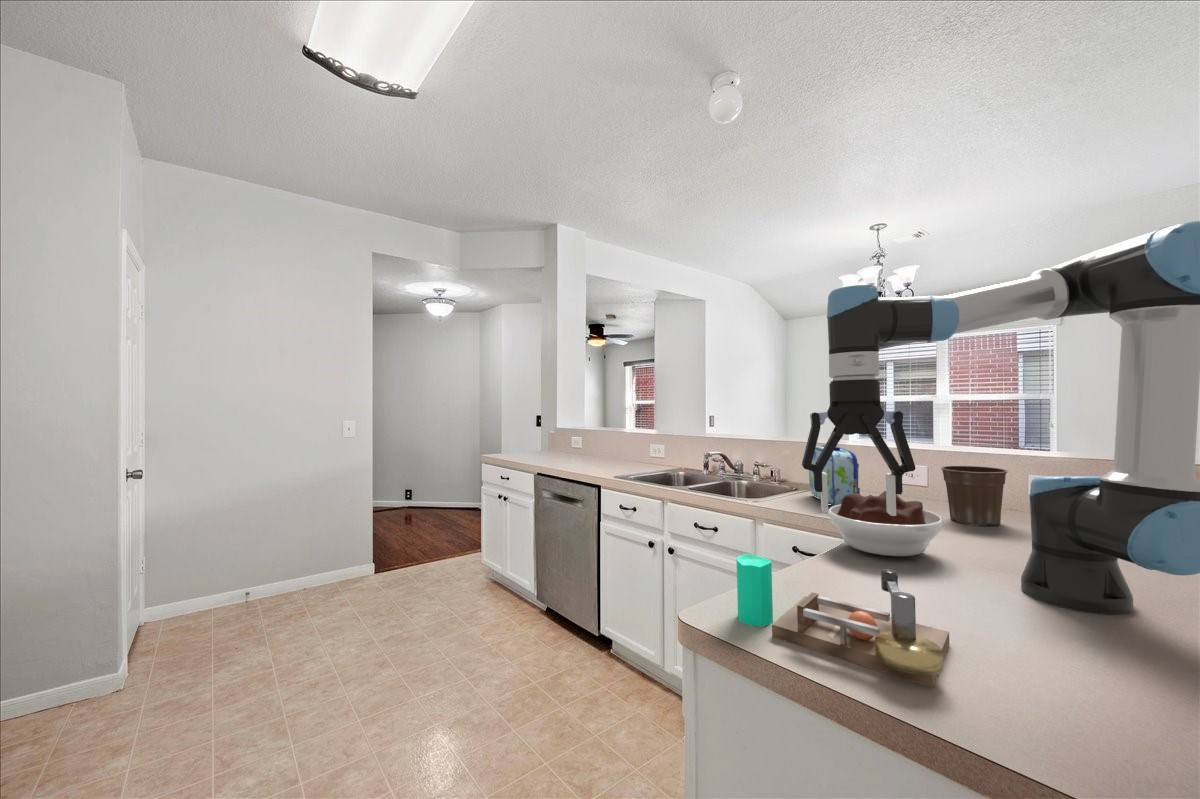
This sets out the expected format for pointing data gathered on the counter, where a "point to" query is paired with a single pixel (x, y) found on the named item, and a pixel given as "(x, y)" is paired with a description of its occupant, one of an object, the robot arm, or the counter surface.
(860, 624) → the stand
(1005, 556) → the counter surface
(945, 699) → the counter surface
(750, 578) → the candle
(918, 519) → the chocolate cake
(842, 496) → the lunch box
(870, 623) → the ball
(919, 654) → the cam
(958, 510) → the plant pot
